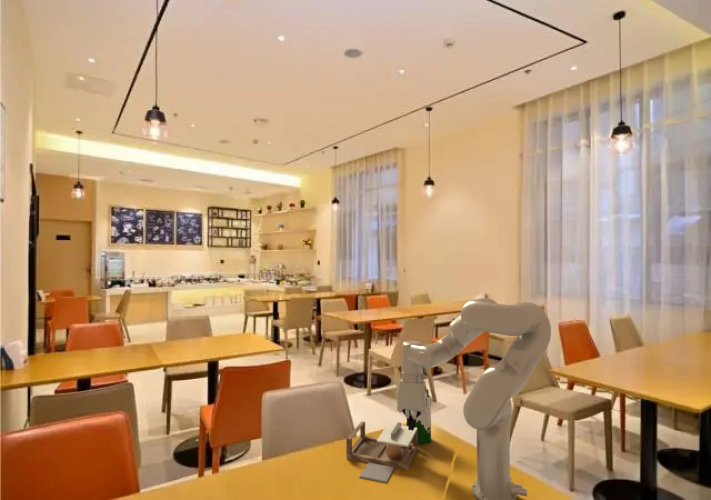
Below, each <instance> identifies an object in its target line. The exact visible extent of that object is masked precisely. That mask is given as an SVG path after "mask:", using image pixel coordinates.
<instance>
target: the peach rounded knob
mask: <svg viewBox="0 0 711 500" xmlns="http://www.w3.org/2000/svg"><path fill="white" fill-rule="evenodd" d="M386 455H387V457H389V458H392V459H397V458H400V457H401V446H398V445H392V444H386Z"/></svg>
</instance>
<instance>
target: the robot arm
mask: <svg viewBox="0 0 711 500" xmlns="http://www.w3.org/2000/svg"><path fill="white" fill-rule="evenodd" d="M460 310H461V311H460V314H459V315H458V316H457V317H456V318H455V319H453V320H452V321H451V322H450V323H449V328H448V329H449V332H448V333H446V335H444V336H443V337H442V338H440V339H439V340H438V341H436V342H432V343H428V344H425V345H424V344H423V343H422V342H421V341H417V340H406V341H404V342H402V345H401V377H400V379H399V381H398V386H397V387H398V388H397V396H396V411H399V412H401V413H403V414H404V416H405V418H406V426H408V430H412V431H413V430H414V428H416V418H417V417H418V416H419V415H425V414H427V409H426V407H427V390H426V389H427V383H426V381H425V380H427V379H428V375H427V374H424V369H426V370H427V369H428V370H429V369H432V368H435V367H437V366H439V365H443V364H445V363H447V362H449V361H450V360H451V359H453V358H455V357H456V356H457V355H458V354H460V353H461V352H463V350H464V349H465V348H466V347H467V346H469V344H470V343H471V342H473V341H475V339H477V338H478V337H480V335H482V334H483V333H490V334H495V335H496V334H497V335H502V336H507V337H516V338H515V339H514V340H513V342H512V343H511V345H510V346H509V348H508V349H507V350H506V353H505V354H504V356H503V357H502V358H501V360H500V361H498V362H497V363H495V364H494V365H492V366H489V367H487V368H486V369H485V370H484V371H483V372H482V373H481V375H480V376H479V378H478V379H477V381H476V382H475V384H474V386H473V387H472V388H471V390H470V392H469V394H468V396H467V397H466V399H465V402H464V404H463V409H462V411H463V412H462V413H463V416H464V419H465V421H466V423H467V424H468V425H469V426H470V427H471V428H473V429H475V430H476V480H475V481H474V482H473V483H472V484H471V492H472V494H473V496H474V497H475V498H476V499H477V500H516V499H517V495H520V496H523V497H528V491H527V490H528V489H527V488H524V487H523V485H522V484H520V483H514V482H513V481H512V477H511V453H510V452H511V451H510V450H511V447H510V446H511V443H510V442H511V439H510V438H511V421H512V414H513V407H512V406H513V405H512V401H511V398H513V397H514V396H516V395H517V394H519V393H520V392H522V390H523V389H524V387H525V386H526V384H527V382H528V380H529V379H530V377H531V376H532V374H533V372H534V371H535V369H536V367H537V366H538V364H539V362H540V360H541V359H542V357H543V356H544V354H545V353H546V351H547V349H548V347H549V344H550V341H551V338H552V337H551V336H552V327H551V322H550V319H549V317H548V315H547V313H546V312H545V311H544V309H543V308H541V306H540V305H538V304H536V303H533V302H530V301H523V302H518V303H513V304H503V303H498V302H496V301H495V300H494V299H492V298H489V297H481V298H475V299H471V300H469V301H467V302H466V303H464V305H463V306H462V308H461V309H460ZM410 410H413V411H414V412H413V416H411V411H410Z"/></svg>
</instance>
